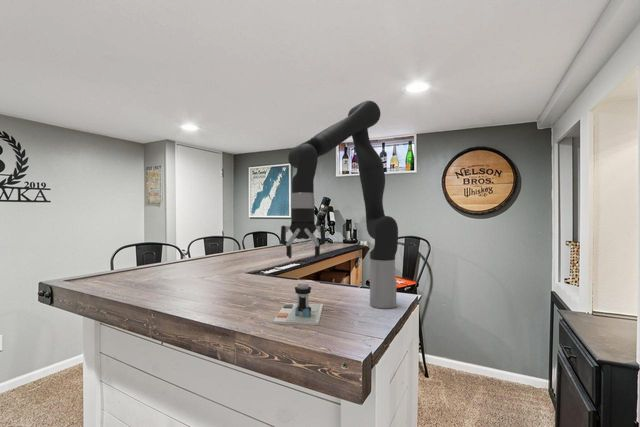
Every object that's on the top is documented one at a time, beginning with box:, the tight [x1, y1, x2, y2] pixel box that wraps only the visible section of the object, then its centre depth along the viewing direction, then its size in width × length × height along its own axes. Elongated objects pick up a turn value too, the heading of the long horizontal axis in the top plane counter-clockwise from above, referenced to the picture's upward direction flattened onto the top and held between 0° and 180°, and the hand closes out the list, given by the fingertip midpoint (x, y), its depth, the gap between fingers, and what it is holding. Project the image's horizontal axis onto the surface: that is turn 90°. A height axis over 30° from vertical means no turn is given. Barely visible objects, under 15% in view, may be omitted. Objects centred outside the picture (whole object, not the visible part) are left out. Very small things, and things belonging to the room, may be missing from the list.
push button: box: [294, 283, 315, 317], centre depth 99 cm, size 7×5×10 cm
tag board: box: [272, 302, 324, 326], centre depth 104 cm, size 14×20×1 cm
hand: (303, 257), depth 99 cm, fingers open, 8 cm apart
